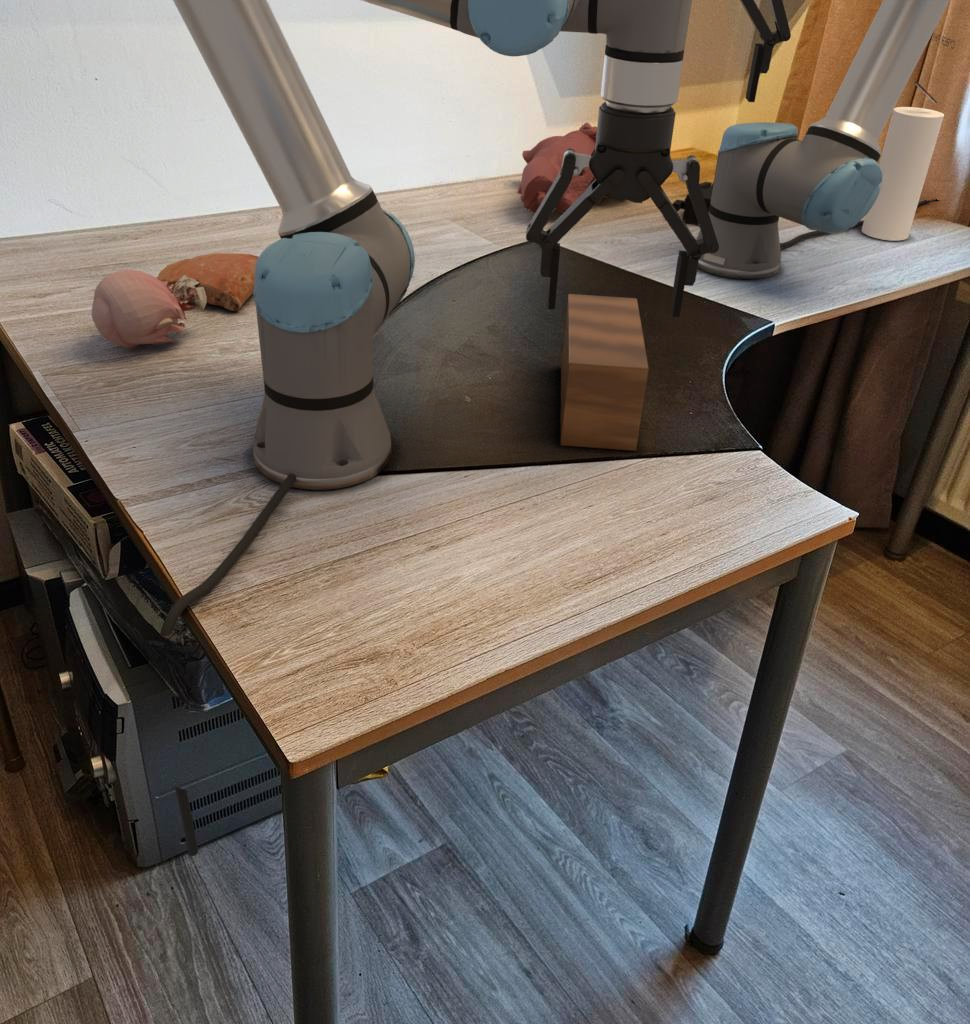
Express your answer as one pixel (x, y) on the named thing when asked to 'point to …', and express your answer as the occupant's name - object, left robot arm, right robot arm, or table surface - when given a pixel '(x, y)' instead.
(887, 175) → the white tall cylinder
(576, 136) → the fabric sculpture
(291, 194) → the left robot arm
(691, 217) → the toy
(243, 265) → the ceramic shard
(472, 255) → the table surface
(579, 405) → the box
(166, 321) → the shallot
